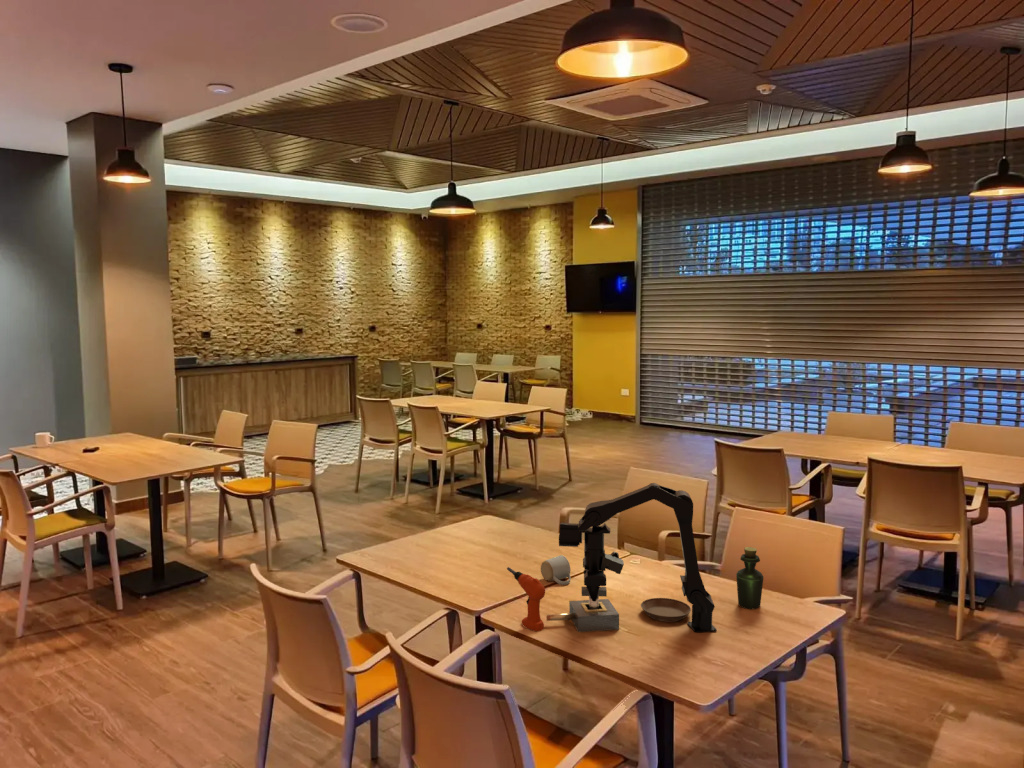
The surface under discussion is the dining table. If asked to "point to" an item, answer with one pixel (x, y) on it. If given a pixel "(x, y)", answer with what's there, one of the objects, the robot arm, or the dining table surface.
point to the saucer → (665, 609)
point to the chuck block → (590, 616)
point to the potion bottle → (749, 580)
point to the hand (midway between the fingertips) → (594, 599)
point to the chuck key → (601, 592)
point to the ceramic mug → (556, 569)
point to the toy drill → (531, 599)
